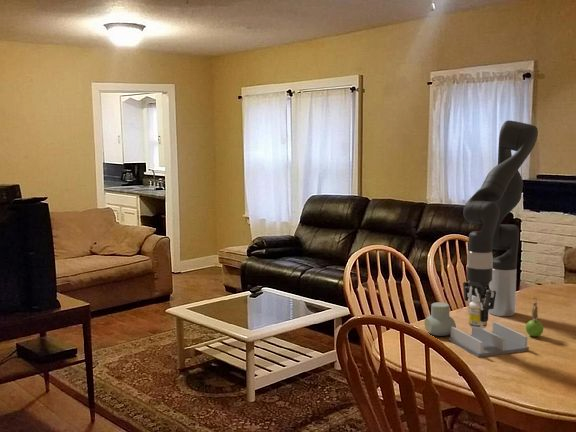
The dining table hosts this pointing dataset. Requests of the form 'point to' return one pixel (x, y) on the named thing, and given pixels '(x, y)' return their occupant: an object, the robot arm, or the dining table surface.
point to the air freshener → (439, 320)
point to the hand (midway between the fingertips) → (478, 318)
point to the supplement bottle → (475, 314)
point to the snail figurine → (534, 323)
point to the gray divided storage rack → (490, 341)
